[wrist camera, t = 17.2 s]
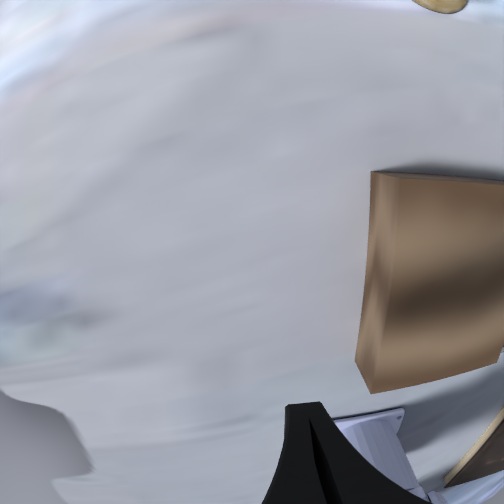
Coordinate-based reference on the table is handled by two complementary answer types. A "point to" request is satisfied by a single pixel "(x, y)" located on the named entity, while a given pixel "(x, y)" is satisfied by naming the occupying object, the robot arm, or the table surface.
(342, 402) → the table surface
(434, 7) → the hand bell
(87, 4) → the table surface
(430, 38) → the table surface
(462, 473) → the hardcover book
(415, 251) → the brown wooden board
